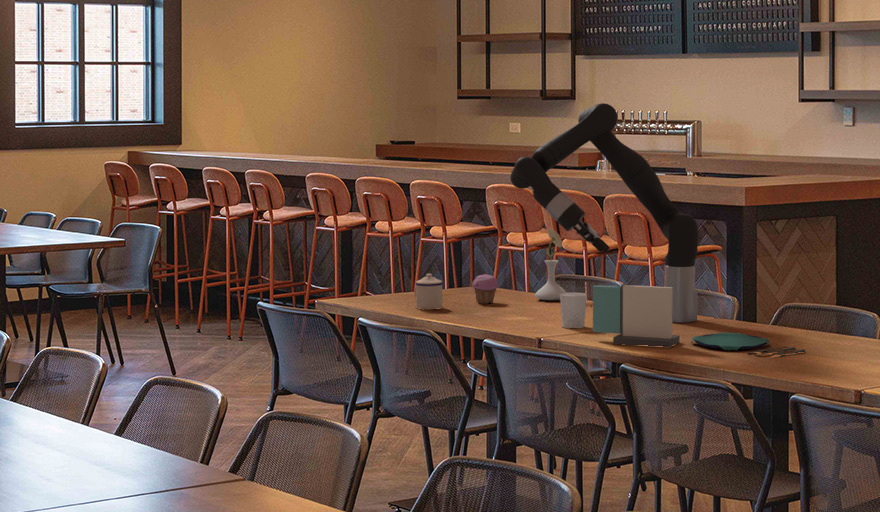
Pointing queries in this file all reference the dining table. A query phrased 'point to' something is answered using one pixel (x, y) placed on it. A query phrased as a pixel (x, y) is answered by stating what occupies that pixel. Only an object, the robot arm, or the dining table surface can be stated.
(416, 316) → the dining table surface
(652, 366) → the dining table surface
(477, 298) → the cupcake
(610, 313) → the teal flat panel
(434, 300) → the teacup with lid
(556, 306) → the dining table surface
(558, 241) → the flower in vase
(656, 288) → the ticket stand
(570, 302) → the white cup
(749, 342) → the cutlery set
